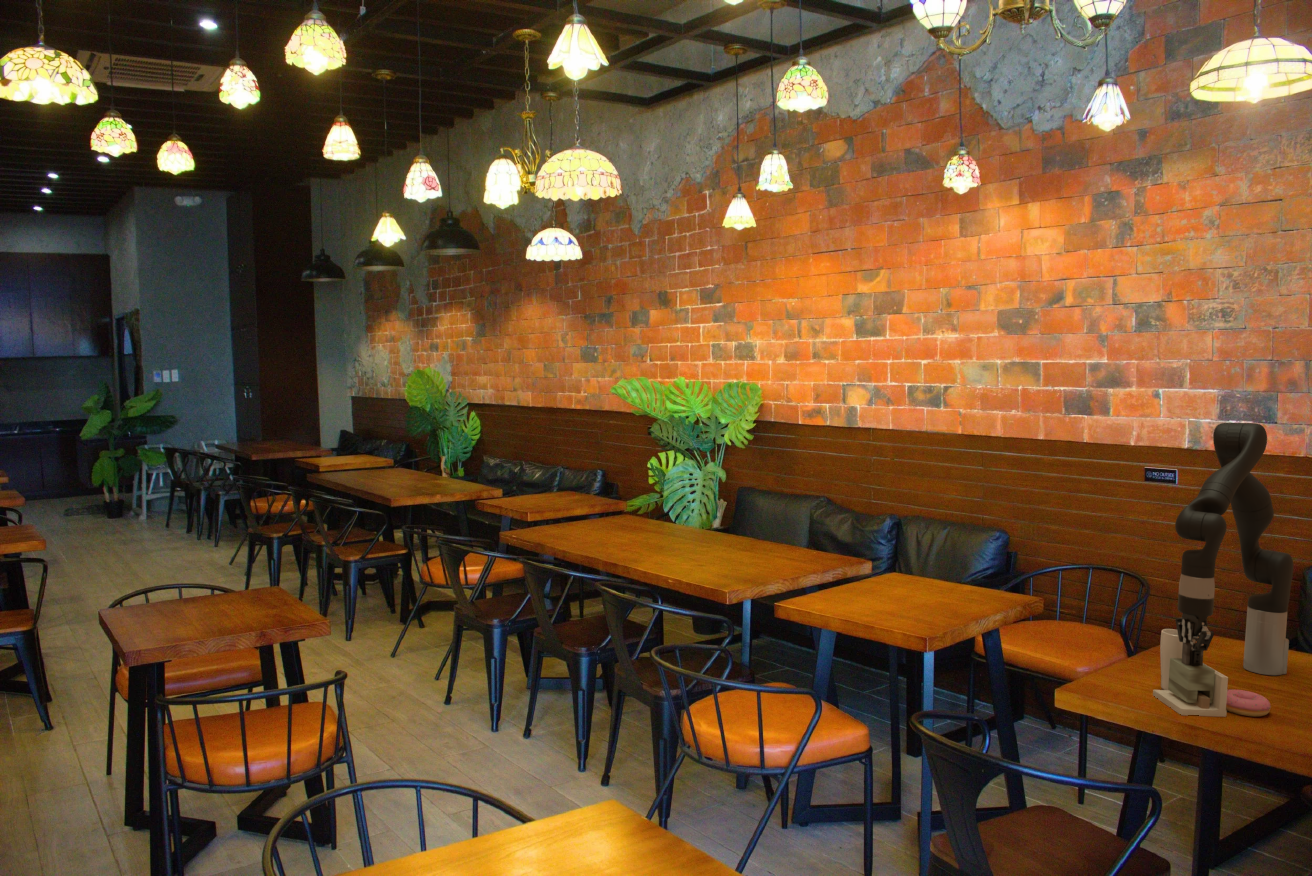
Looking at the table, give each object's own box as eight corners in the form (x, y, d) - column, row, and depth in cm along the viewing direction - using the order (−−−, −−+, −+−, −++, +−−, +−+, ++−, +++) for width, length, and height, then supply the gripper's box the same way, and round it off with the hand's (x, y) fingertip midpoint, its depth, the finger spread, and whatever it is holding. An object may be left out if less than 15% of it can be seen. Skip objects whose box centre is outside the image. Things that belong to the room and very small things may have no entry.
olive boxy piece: (1192, 690, 238) (1195, 638, 237) (1212, 703, 229) (1216, 649, 228) (1168, 689, 238) (1171, 638, 237) (1187, 702, 229) (1190, 649, 228)
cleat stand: (1195, 696, 240) (1197, 659, 239) (1226, 716, 226) (1228, 677, 226) (1152, 695, 240) (1155, 658, 240) (1181, 715, 227) (1183, 676, 226)
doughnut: (1221, 699, 239) (1222, 683, 239) (1273, 710, 232) (1274, 693, 232) (1213, 711, 231) (1214, 694, 230) (1267, 722, 224) (1268, 705, 223)
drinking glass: (1191, 695, 241) (1195, 637, 240) (1162, 693, 242) (1166, 634, 241) (1182, 686, 248) (1186, 629, 246) (1153, 684, 249) (1157, 627, 248)
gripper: (1228, 601, 224) (1223, 673, 226) (1196, 587, 238) (1192, 655, 239) (1196, 600, 224) (1191, 672, 226) (1166, 586, 238) (1161, 655, 240)
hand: (1191, 663), depth 233 cm, fingers closed on olive boxy piece
